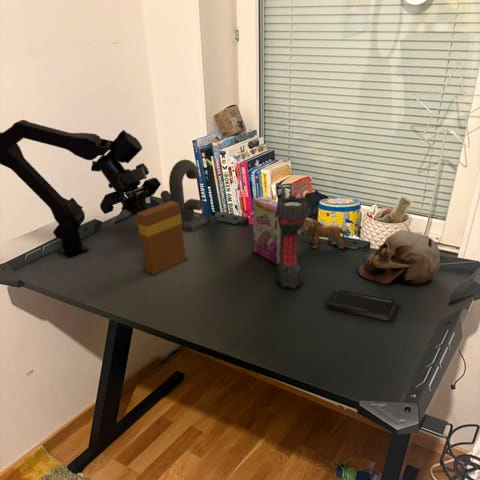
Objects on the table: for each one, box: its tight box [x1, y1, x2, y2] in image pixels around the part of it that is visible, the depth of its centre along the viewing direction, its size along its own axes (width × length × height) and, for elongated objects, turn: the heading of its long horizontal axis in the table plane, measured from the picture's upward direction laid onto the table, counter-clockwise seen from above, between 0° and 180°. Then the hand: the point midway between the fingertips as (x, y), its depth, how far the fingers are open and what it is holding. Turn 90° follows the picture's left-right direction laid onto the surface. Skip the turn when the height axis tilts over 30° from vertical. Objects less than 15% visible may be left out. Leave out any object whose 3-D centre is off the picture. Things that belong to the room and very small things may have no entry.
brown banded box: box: [136, 201, 186, 275], centre depth 135 cm, size 4×12×17 cm, turn 137°
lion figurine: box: [300, 217, 350, 250], centre depth 144 cm, size 15×5×9 cm, turn 87°
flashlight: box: [276, 194, 309, 290], centre depth 121 cm, size 8×8×23 cm
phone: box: [327, 289, 397, 321], centre depth 116 cm, size 8×1×15 cm
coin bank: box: [358, 229, 441, 286], centre depth 125 cm, size 16×17×13 cm
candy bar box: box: [251, 195, 281, 265], centre depth 137 cm, size 11×5×16 cm, turn 35°
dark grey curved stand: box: [160, 159, 208, 232], centre depth 164 cm, size 18×16×20 cm
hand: (149, 219), depth 135 cm, fingers closed
